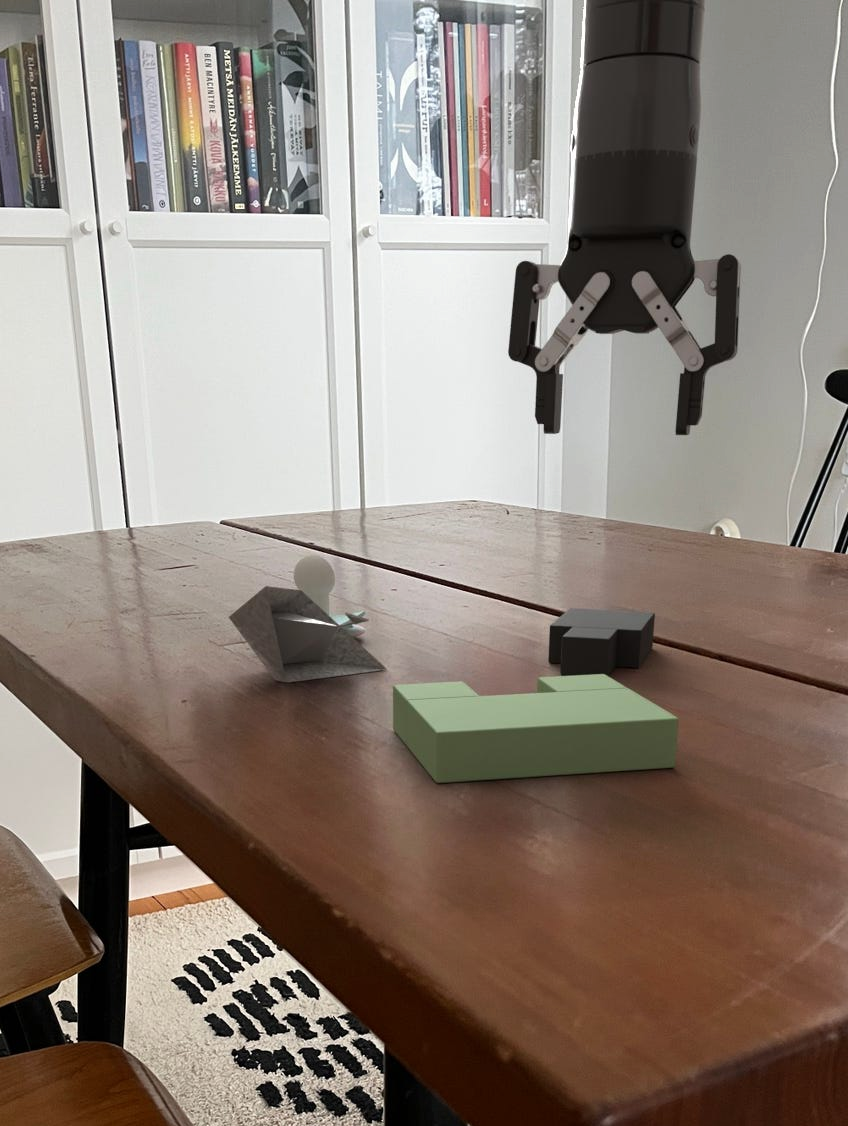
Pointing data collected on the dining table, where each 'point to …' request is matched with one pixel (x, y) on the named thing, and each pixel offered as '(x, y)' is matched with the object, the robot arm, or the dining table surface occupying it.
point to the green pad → (533, 729)
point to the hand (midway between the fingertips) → (615, 434)
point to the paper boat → (300, 637)
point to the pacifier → (322, 588)
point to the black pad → (600, 640)
